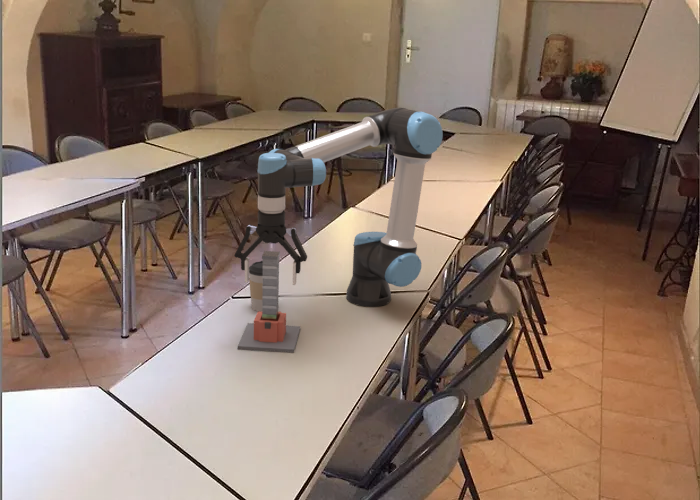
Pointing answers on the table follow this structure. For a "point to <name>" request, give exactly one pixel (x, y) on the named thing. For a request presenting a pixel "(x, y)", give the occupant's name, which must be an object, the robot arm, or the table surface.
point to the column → (270, 284)
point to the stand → (269, 335)
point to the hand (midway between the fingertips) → (270, 282)
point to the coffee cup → (256, 285)
